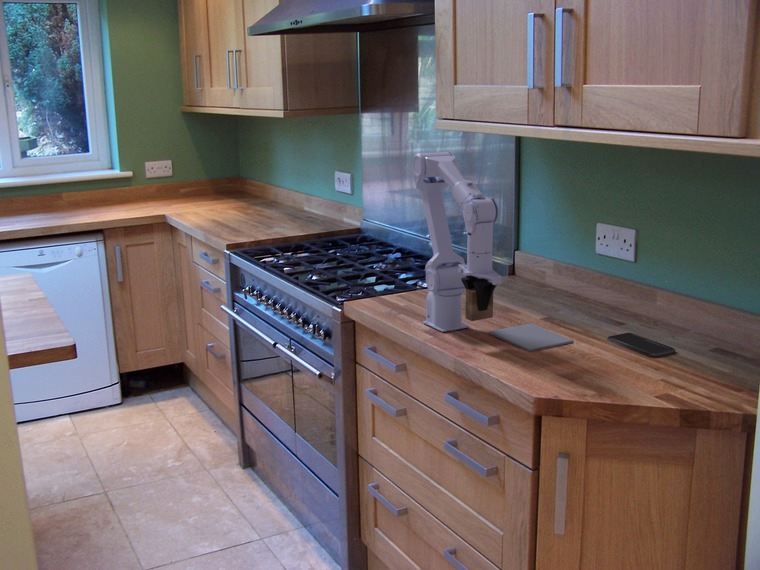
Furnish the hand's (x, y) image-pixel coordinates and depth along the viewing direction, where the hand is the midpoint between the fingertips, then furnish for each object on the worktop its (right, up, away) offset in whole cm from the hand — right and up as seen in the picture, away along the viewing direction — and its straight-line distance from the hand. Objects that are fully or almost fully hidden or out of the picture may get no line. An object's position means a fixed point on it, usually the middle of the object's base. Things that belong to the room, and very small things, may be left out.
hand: (478, 308), depth 192 cm
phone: (+38, -9, 0) cm, 39 cm away
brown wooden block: (0, -2, +1) cm, 2 cm away
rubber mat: (+13, -7, +7) cm, 17 cm away
